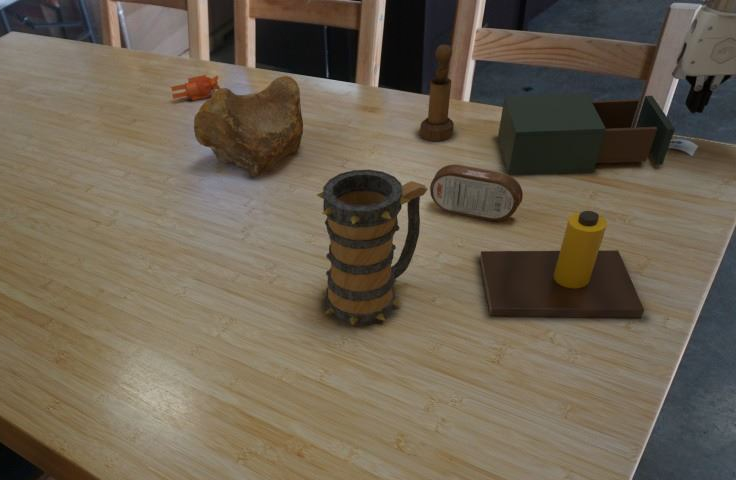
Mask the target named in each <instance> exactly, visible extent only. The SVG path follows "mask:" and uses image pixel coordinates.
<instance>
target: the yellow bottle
mask: <svg viewBox="0 0 736 480" xmlns="http://www.w3.org/2000/svg"><path fill="white" fill-rule="evenodd" d="M607 226H608V222H607V220H606V218H604V217H603V216H601V215H600V214H598V213H597V212H595V211H593V210H584V211H581V212H580V211H579V212H576V213H573V214H571V215H570V216H569V217H568V221H567V224H566V228H565V230H564V231H565V232H564V234H563V239H562V242H561V246H560V250H559V251H560V253H559V257H558V261H557V265H556V268H555V272H554V280H555V281H556V282H557V283H558V284H560V285H561V286H564V287H567V288H582V287H584V286H586V285H587V284H588V283H589V280H590V277H591V274H592V271H593V267H594V264H595V261H596V258H597V255H598V251H600V249H601V245H602V243H603V238H604V235H605V233H606V229H607Z"/></svg>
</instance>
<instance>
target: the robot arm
mask: <svg viewBox="0 0 736 480" xmlns="http://www.w3.org/2000/svg"><path fill="white" fill-rule="evenodd" d="M698 2H699V3H704V5H701V7H700V8H699V9H698V11H697V13H696V15H695V16H694V18H693V20H692V22H691V24H690V26H689V28H688V30H687V32H686V34H685V37H684V39H683V41H682V43H681V45H680V47H679V48H680V49H679V50H678V54H677V57H676V61H675V64H676V66H675V67H674V69H673V70H672V72H671V75H672V77H673V79H675V80H679V81H686V82H687V83H688V84H689V85H690V88H689V91H688V94H687V95H686V98H685V103H684V105H685V106H686V108H687V109H688V111H689V112H690V114H696V113H697V114H702V113H704V112H703V111H704V110H705V107H706V106H708V104H709V103H710V100H711V97H712V95H713V92H714V91H716V90H717V89H718V88H719V86H721V85H722V84H723V83H725V82H726V81H728V80H729V79H735V78H736V0H698Z"/></svg>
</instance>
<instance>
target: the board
mask: <svg viewBox="0 0 736 480" xmlns="http://www.w3.org/2000/svg"><path fill="white" fill-rule="evenodd" d="M559 253H560V250H490V251H489V250H481V251H480V255H479V261H480V267H481V273H482V279H483V283H484V288H485V294H486V301H487V305H488V310H489V316H490V317H539V318H540V317H542V318H543V317H545V318H547V317H549V318H551V317H553V318H617V319H618V318H621V319H623V318H625V319H627V318H628V319H630V318H631V319H632V318H634V319H642V316H643V314H644V312H645V309H644V306H643V304H642V302H641V299H640V297H639V295H638V293H637V290H636V287H635V285H634V283H633V281H632V279H631V276H630V274H629V272H628V269H627V267H626V265H625V262H624V260H623V258H622V255H621V254H620V251H619V250H618V249H617V250H613V249H612V250H610V249H609V250H599V251H598V255H597V258H596V261H595V264H594V267H593V271H592V274H591V277H590V280H589V283H588V284H587V285H586V286H584V287H582V288H567V287H564V286H561V285H560V284H558V283H557V282H556V281H555V280H554V272H555V268H556V265H557V261H558V257H559Z"/></svg>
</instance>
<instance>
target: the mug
mask: <svg viewBox="0 0 736 480" xmlns="http://www.w3.org/2000/svg"><path fill="white" fill-rule="evenodd" d="M428 190H429V188H428V187H426V185H425V184H422V183H419V182H416V181H412V180H411V181H408V182H406V183H404V184H402V182H401V181H399V180H398V179H397V177H396V176H395V175H391V174H389V173H387V172H385V171H380V170H375V169H353V170H349V171H345V172H342V173H341V172H340V173H339V174H337V175H335V176H333V177H331V178H329V179H328V181H327V182H326V183H325V184H324V185H323V187H322V192H319V193H316V194H315V196H317V197H318V198H321V199H323V204H322V205H323V206H322V207H323V208H322V209H323V212H322V213H321V214H322V215H325V216H326V218H325V220H324V225H325V227H326V231H327V234H328V236H329V237H328V238H329V241H330V243H329V245H328V252H327V253H326V255H325V258H326V259H327V260H329V262H330V268H329V270H327V271H326V272H325V275H326V276H327V283H326V284H327V287H326V289H325V291H323V292H320V293H319V294H320V295H321V296H323V297H325V308H326V311H325V312H324V314H329V315H330V316H331V317H333V318H334V319H336V320H337V321H339V322H340V323H344V324H348V325H351V326H370V325H373V324H377V323H381V322H382V321H384V322H386V318H388V317H389V316H391V314H392V312H393V310H394V308H395V306H396V305H400V304H403V302H402V301H399V299H398V300H397V299H396V291H395V287H394V285H395V283H396V282H397V279H398V278H399V277H400V276H401V275H403V274H404V273H405V272H406V270H408V268H409V266H410V264H411V261H412V259H413V257H414V254H415V251H416V248H417V244H418V240H419V238H420V237H419V236H420V230H421V229H420V227H421V217H420V216H421V215H420V202H421V197H422V196H424V195H425V194H426V193H427V191H428ZM403 204H406V205H407V206H406V207H407V220H408V221H407V234H406V237H405V242H404V245H403V246H402V247H403V248H402V250H401V253H400V255H399V258H398V260H397V261H396V263H395V264H393V260H394V253H395V250H396V249H397V247H396V244H394V235H395V234H396V232H398V231H400V226H399V222H398V221H399V220H398V215H399V213H400V212H401V210H402V207H403ZM392 264H393V265H392Z"/></svg>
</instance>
